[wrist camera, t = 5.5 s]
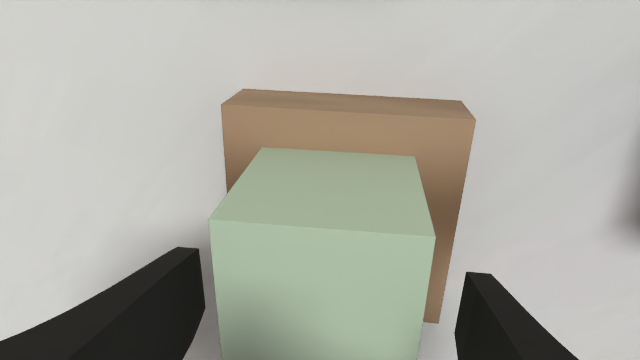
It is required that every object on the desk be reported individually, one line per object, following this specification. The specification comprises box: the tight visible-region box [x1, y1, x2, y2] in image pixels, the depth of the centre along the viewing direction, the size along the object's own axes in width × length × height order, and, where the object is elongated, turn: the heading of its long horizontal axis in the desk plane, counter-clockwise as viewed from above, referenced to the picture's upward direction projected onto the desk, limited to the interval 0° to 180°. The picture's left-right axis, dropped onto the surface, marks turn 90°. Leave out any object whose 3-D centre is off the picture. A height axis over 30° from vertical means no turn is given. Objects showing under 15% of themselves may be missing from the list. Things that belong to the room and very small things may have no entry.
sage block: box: [208, 147, 436, 360], centre depth 12 cm, size 5×5×5 cm
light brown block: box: [221, 89, 476, 323], centre depth 16 cm, size 8×8×3 cm
